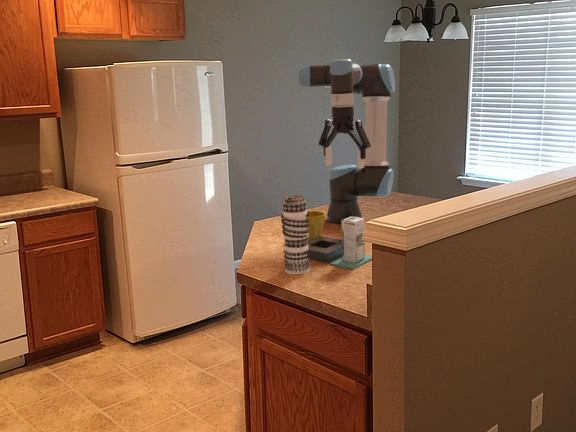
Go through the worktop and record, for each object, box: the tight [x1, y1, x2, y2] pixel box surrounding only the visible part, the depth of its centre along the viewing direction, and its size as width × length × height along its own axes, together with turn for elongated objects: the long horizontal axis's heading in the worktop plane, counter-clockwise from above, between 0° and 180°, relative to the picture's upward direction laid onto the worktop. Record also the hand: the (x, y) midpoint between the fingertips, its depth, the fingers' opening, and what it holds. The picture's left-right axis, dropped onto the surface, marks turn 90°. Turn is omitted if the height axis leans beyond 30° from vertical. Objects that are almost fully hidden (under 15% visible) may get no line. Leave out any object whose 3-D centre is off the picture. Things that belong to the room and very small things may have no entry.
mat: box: [329, 254, 372, 270], centre depth 216 cm, size 14×9×1 cm, turn 140°
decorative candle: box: [280, 194, 311, 275], centre depth 208 cm, size 9×9×25 cm
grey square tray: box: [307, 235, 342, 264], centre depth 226 cm, size 16×16×4 cm
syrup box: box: [341, 217, 366, 263], centre depth 215 cm, size 6×6×14 cm
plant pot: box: [306, 210, 326, 240], centre depth 246 cm, size 10×10×10 cm
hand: (344, 166), depth 223 cm, fingers open, 13 cm apart
